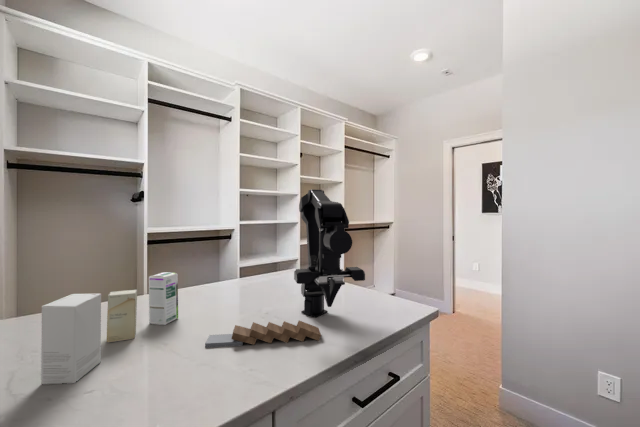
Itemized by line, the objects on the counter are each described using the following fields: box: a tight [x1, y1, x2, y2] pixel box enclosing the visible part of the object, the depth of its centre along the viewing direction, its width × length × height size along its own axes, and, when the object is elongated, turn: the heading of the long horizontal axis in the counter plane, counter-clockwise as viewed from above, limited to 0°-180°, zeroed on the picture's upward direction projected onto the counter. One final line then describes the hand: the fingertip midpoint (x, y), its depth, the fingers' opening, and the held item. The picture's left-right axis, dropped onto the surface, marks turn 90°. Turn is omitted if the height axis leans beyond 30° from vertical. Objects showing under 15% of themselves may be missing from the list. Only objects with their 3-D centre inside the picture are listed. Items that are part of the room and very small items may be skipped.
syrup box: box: [148, 271, 179, 326], centre depth 89 cm, size 6×6×14 cm
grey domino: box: [204, 333, 244, 348], centre depth 75 cm, size 2×5×9 cm
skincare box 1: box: [40, 292, 102, 385], centre depth 60 cm, size 8×7×16 cm
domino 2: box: [249, 322, 274, 344], centre depth 76 cm, size 2×5×6 cm
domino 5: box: [296, 320, 322, 341], centre depth 78 cm, size 2×5×6 cm
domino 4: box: [281, 320, 307, 343], centre depth 77 cm, size 2×5×6 cm
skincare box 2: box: [106, 289, 138, 343], centre depth 77 cm, size 6×4×12 cm
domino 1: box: [231, 324, 258, 346], centre depth 75 cm, size 2×5×6 cm
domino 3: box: [265, 321, 291, 344], centre depth 77 cm, size 2×5×6 cm
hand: (329, 306), depth 79 cm, fingers closed
